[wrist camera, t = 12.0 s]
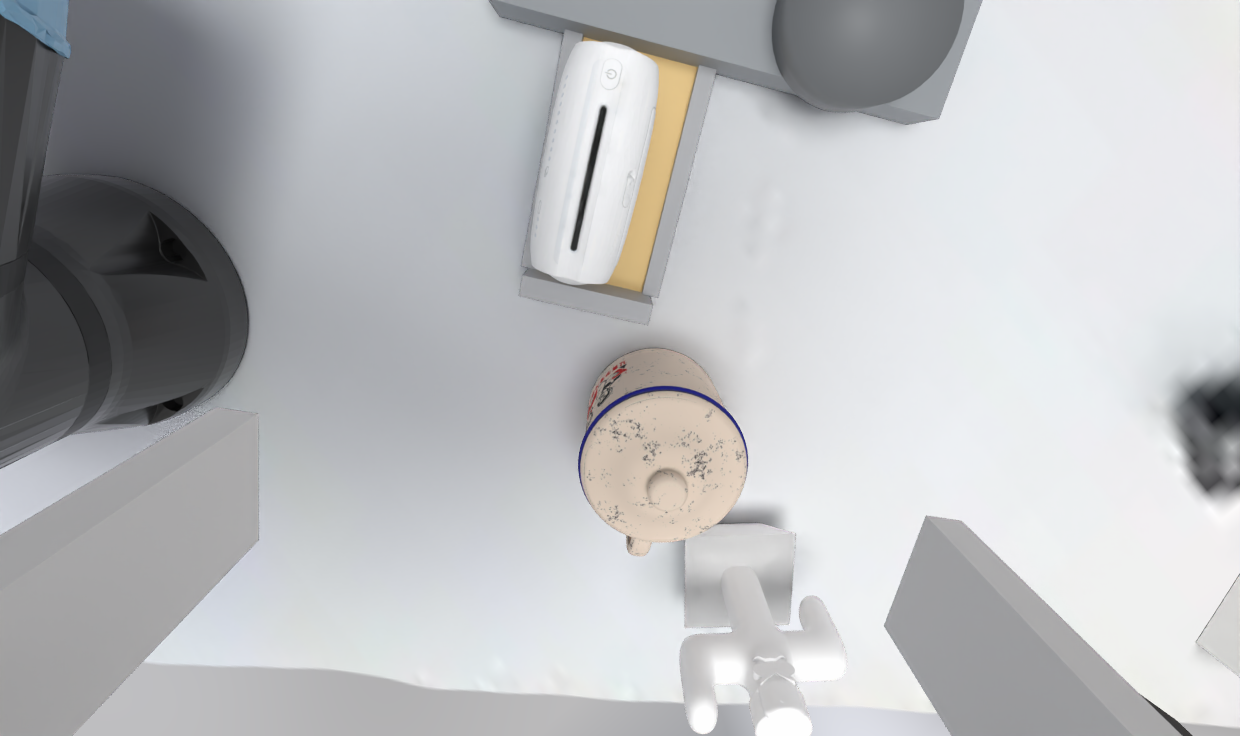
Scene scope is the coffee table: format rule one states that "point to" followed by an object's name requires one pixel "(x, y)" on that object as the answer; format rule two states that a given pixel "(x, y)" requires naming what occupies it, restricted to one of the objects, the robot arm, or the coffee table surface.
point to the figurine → (752, 629)
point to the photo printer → (593, 161)
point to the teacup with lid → (660, 450)
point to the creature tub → (1225, 631)
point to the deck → (751, 52)
